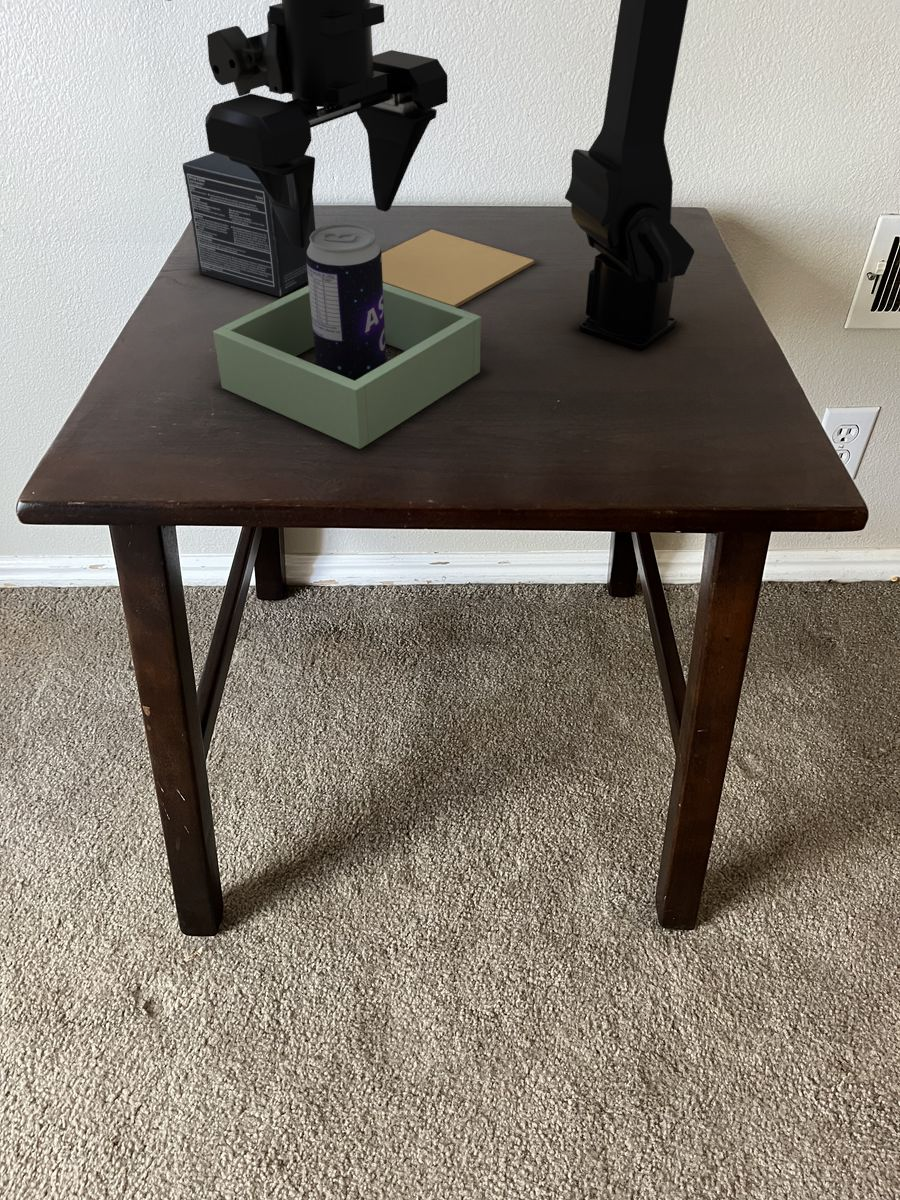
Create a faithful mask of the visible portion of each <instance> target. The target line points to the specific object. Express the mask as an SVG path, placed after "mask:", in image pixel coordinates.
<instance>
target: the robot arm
mask: <svg viewBox="0 0 900 1200" xmlns="http://www.w3.org/2000/svg"><path fill="white" fill-rule="evenodd" d="M166 1H167V2H168V1H171V0H166ZM619 3H620V4H619V10H618V18H617V23H616V24H617V25H616V29H615V39H614V46H613V52H612V60H611V66H610V72H609V73H610V74H609V80H608V89H607V95H606V103H605V109H604V116H603V123H602V127H601V130H600V132H599V134H598V135H597V137H596V138H595V140H594V141H593V143H592V145H591V146H590V148H589V149H588V150H585V149H579V148H575V149H574V150H573V151H572V154H571V176H570V177H571V178H570V184H569V187H568V189H567V191H566V193H565V195H564V199H565V200H566V201H568V202H569V203H570V204H571V207H570V209H571V215H572V219H573V220H574V222H575V223H576V224H577V225H578V227H579V228H580V229H581V230H582V231H583V232H584V233H585V234H586V238H587V241H588V245H589V246H590V247H591V248H592V249H595V250H597V251H598V252H599V254H597V255H595V256H594V263H593V269H591V270H590V271H589V272H588V280H587V281H588V282H587V291H586V302H585V303H586V304H585V315H586V316H587V318H585V319H584V320H583V321H581V322H580V323H579V325H578V330H579V331H582V332H585V333H587V334H590V335H594V336H597V337H599V338H603V339H606V340H609V341H612V342H615V343H618V344H621V345H624V346H627V347H630V348H633V349H636V350H643V349H645V348H647V347H649V345H650V344H652V343H653V342H655V341H656V340H658V339H659V338H660V337H662V336H663V335H664V334H666V333H667V332H668V331H670V330H672V329H673V328H674V327H675V326H677V323H678V322H677V321H678V320H677V318H676V317H673V316H671V315H670V312H671V306H672V298H673V293H674V292H673V291H674V285H675V280H676V279H675V278H676V277H681V276H685V274H686V272H687V270H688V268H689V265H690V264H691V261H692V260H693V257H694V255H695V249H694V248H693V246H691V244H689V242H688V240H687V239H685V238H684V236H682V234H681V233H680V232H679V231H678V230H677V228H676V227H675V226H674V225H673V224H672V212H673V211H672V210H673V189H674V188H673V187H674V184H673V183H674V182H673V181H674V180H673V176H672V172H671V166H670V162H669V157H668V153H667V149H666V143H665V133H666V128H667V122H668V116H669V110H670V105H671V99H672V94H673V90H674V89H673V88H674V83H675V78H676V73H677V67H678V59H679V55H680V48H681V43H682V38H683V31H684V27H685V22H686V15H687V10H688V4H689V0H620V2H619ZM266 20H267V31H265V32H262V33H260V34H257V35H253V36H249V37H247V35H246V34H245V33H244V31H243V30H242V28H241V27H240V26H238V25H234V26H230V27H226V28H222V29H218V30H215V31H213V32H211V33H208V34H206V38H207V39H206V40H207V53H208V55H207V56H208V64H209V66H210V69H211V72H212V74H213V77H214V80H215V81H216V82H217V83H218V84H219V85H220V86H224V85H230V84H232V83H234V86H235V89H236V92H237V96H238V97H235V98H232V99H229V100H225V101H222V102H219V103H216V104H213V105H212V106H211V107H210V108H209V110H208V113H207V114H206V116H205V120H204V121H205V122H204V123H205V124H204V126H205V133H206V139H207V146H208V151H209V152H212V153H214V152H215V153H218V154H221V155H225V156H227V157H228V159H229V160H230V161H233V162H236V163H239V164H243V165H246V166H247V167H248V168H249V169H250V170H251V171H252V172H253V173H254V174H255V176H256V177H257V178H258V180H259V182H260V183H261V185H262V187H263V188H264V190H265V192H266V193H267V195H268V197H269V199H270V201H271V203H272V205H273V208H274V210H275V212H276V214H277V216H278V218H279V220H280V222H281V224H282V226H283V229H284V231H285V233H286V235H287V237H288V239H289V241H290V243H291V245H292V246H293V247H295V248H298V249H304V248H305V247H306V243H307V238H308V233H309V225H310V213H311V202H312V192H313V189H314V180H315V179H314V178H315V167H316V157H315V156H311V155H308V154H306V153H307V151H308V149H309V146H310V144H311V143H312V128H314V127H317V126H320V125H322V124H326V123H328V122H331V121H334V120H337V119H340V118H342V117H346V116H348V115H351V114H353V113H356V115H357V116H358V118H359V120H360V121H361V124H362V125H363V127H364V129H365V131H366V134H367V141H368V152H369V163H370V164H369V165H370V175H371V185H372V187H371V188H372V192H373V198H374V205H375V208H376V209H377V210H379V211H381V212H388V211H390V210H391V209H392V208H391V207H392V205H393V203H394V201H395V198H396V196H397V194H398V191H399V189H400V186H401V185H402V182H403V180H404V177H405V174H406V172H407V170H408V168H409V166H410V163H411V161H412V158H413V157H414V154H415V152H416V150H417V148H418V146H419V144H420V142H421V141H422V139H423V136H424V135H425V132H426V130H427V128H428V127H429V124H430V122H431V121H433V120H434V119H436V118H437V113H438V110H437V109H436V107H438V106H441V105H444V104H447V103H448V73H447V72H446V71H445V69H444V67H443V66H442V64H441V62H440V61H439V59H437V58H433V57H428V56H423V55H419V54H413V53H408V52H404V51H399V50H393V49H390V50H386V51H383V52H379V53H377V54H374V51H373V33H372V31H373V30H372V29H373V28H372V26H376V25H379V24H380V25H381V24H383V23H385V4H381V3H375V2H371V0H281V3H276V4H273V5H268V11H267V14H266ZM373 54H374V55H373ZM264 86H265V87H267V88H268V91H269V92H270V93H273V94H278V95H284V94H289V95H291V99H292V100H288V101H282V100H279V99H274V98H270V97H267V96H263V95H258V94H255V93H251V91H252V90H254V89H258V88H261V87H264Z"/></svg>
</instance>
